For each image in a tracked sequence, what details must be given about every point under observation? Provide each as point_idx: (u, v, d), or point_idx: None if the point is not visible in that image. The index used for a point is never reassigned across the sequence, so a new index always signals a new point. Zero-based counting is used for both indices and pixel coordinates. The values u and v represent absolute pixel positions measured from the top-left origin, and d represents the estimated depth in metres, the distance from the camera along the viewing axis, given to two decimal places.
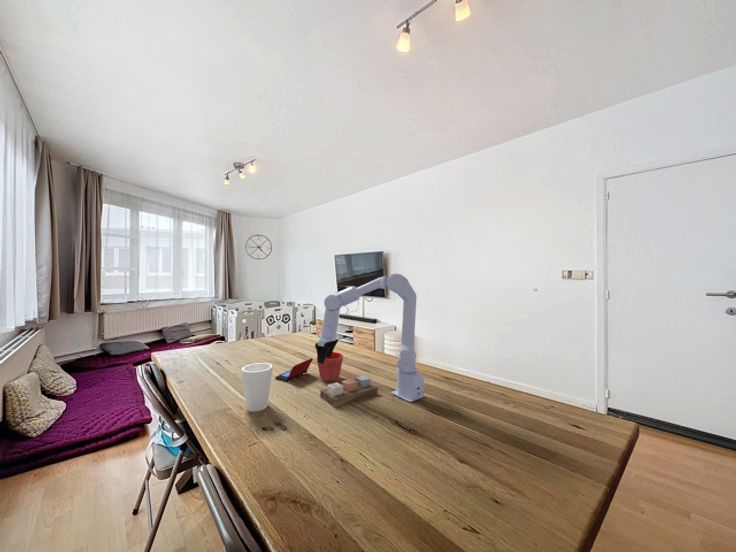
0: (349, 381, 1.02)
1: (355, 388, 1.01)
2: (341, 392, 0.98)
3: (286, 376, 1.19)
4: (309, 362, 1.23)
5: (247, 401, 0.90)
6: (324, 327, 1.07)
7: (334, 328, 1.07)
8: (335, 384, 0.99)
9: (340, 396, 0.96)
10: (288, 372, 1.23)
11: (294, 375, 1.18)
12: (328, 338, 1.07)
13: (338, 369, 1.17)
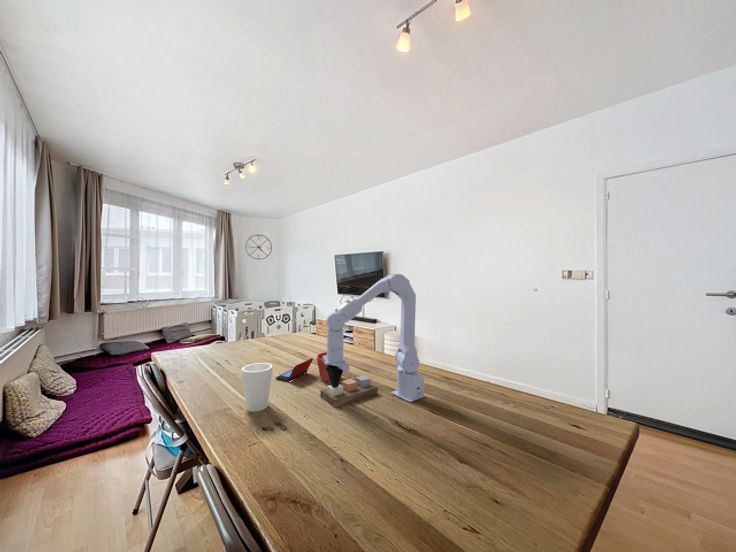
0: (349, 381, 1.02)
1: (355, 388, 1.01)
2: (341, 393, 0.98)
3: (287, 376, 1.18)
4: (309, 362, 1.23)
5: (247, 401, 0.90)
6: (336, 351, 0.96)
7: None
8: None
9: (340, 396, 0.96)
10: (288, 372, 1.23)
11: (295, 375, 1.18)
12: (342, 361, 0.97)
13: None
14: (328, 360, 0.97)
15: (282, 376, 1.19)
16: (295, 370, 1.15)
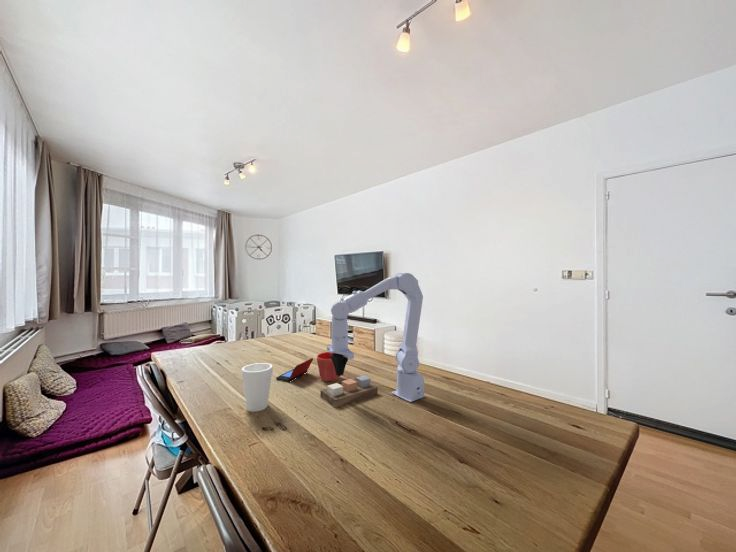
0: (349, 381, 1.02)
1: (355, 388, 1.01)
2: (341, 393, 0.98)
3: (287, 376, 1.18)
4: (310, 362, 1.23)
5: (247, 401, 0.90)
6: (340, 339, 0.97)
7: (347, 337, 1.00)
8: (335, 385, 0.99)
9: (340, 396, 0.96)
10: (288, 372, 1.23)
11: (295, 375, 1.18)
12: (346, 349, 0.98)
13: None
14: (333, 349, 0.98)
15: (282, 376, 1.19)
16: (296, 370, 1.15)
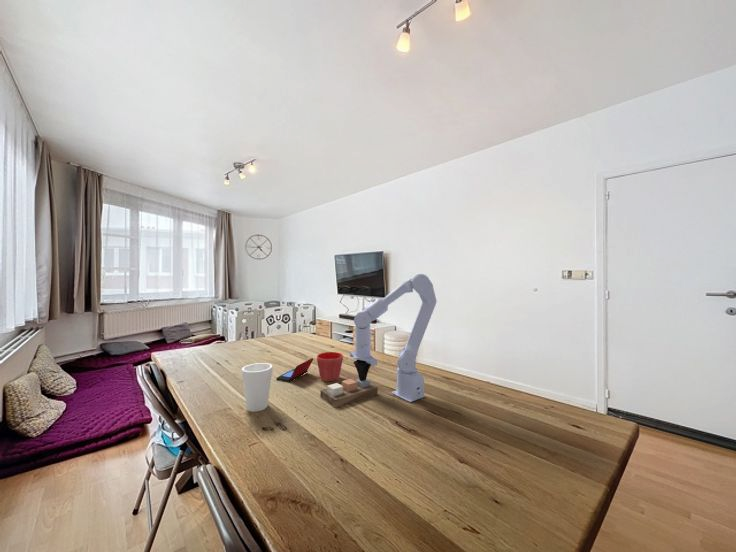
0: (349, 381, 1.02)
1: (355, 388, 1.01)
2: (341, 393, 0.98)
3: (287, 376, 1.18)
4: (310, 362, 1.23)
5: (247, 401, 0.90)
6: (364, 347, 1.03)
7: None
8: (335, 385, 0.99)
9: (340, 396, 0.96)
10: (288, 372, 1.23)
11: (296, 375, 1.17)
12: (369, 356, 1.04)
13: (338, 369, 1.17)
14: (357, 355, 1.04)
15: (283, 376, 1.19)
16: (296, 370, 1.15)
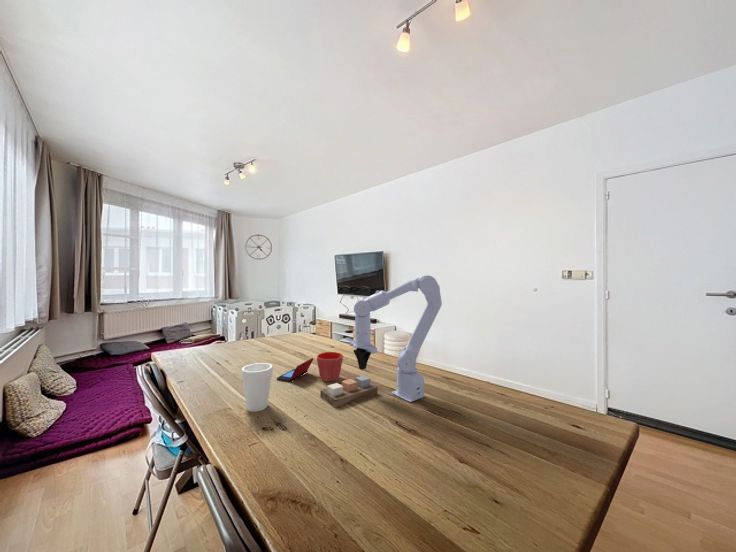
0: (349, 381, 1.02)
1: (355, 388, 1.01)
2: (341, 393, 0.98)
3: (288, 377, 1.18)
4: (310, 362, 1.23)
5: (247, 401, 0.90)
6: (364, 335, 1.03)
7: None
8: (335, 385, 0.99)
9: (340, 396, 0.96)
10: (289, 373, 1.23)
11: (296, 375, 1.17)
12: (369, 344, 1.04)
13: (338, 369, 1.17)
14: (357, 344, 1.04)
15: (283, 376, 1.18)
16: (297, 370, 1.15)
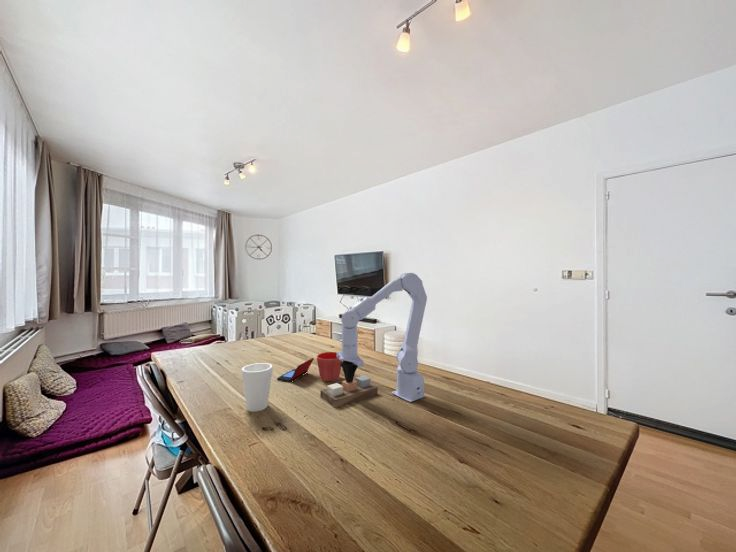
0: None
1: (355, 388, 1.01)
2: (341, 393, 0.98)
3: (288, 377, 1.18)
4: (310, 362, 1.23)
5: (247, 401, 0.90)
6: (350, 347, 0.99)
7: (357, 345, 1.03)
8: (335, 385, 0.99)
9: (340, 396, 0.96)
10: (289, 373, 1.23)
11: (297, 375, 1.17)
12: (356, 357, 1.01)
13: (338, 369, 1.17)
14: (343, 356, 1.00)
15: (283, 376, 1.18)
16: (297, 370, 1.15)
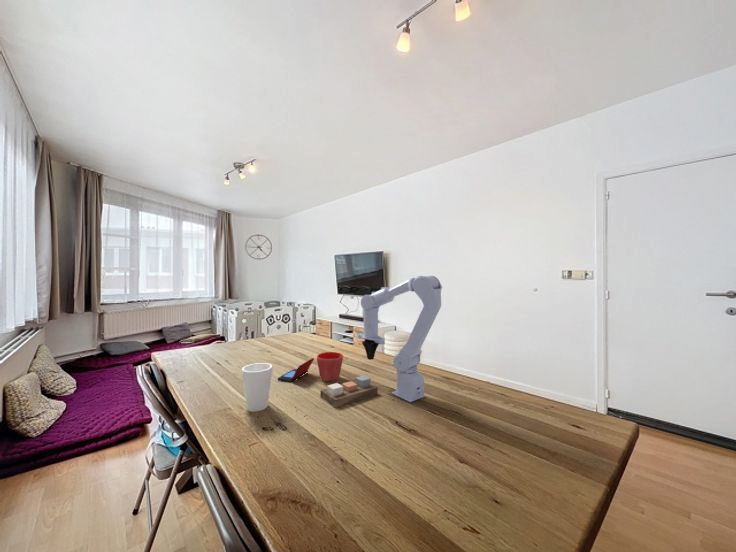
0: (349, 384, 1.02)
1: None
2: (341, 393, 0.98)
3: (289, 377, 1.18)
4: (311, 362, 1.23)
5: (247, 401, 0.90)
6: (372, 327, 1.10)
7: (377, 325, 1.13)
8: (335, 385, 0.99)
9: (340, 396, 0.96)
10: (289, 373, 1.22)
11: (297, 375, 1.17)
12: (377, 336, 1.12)
13: (338, 369, 1.17)
14: (365, 335, 1.11)
15: (284, 377, 1.18)
16: (298, 370, 1.15)
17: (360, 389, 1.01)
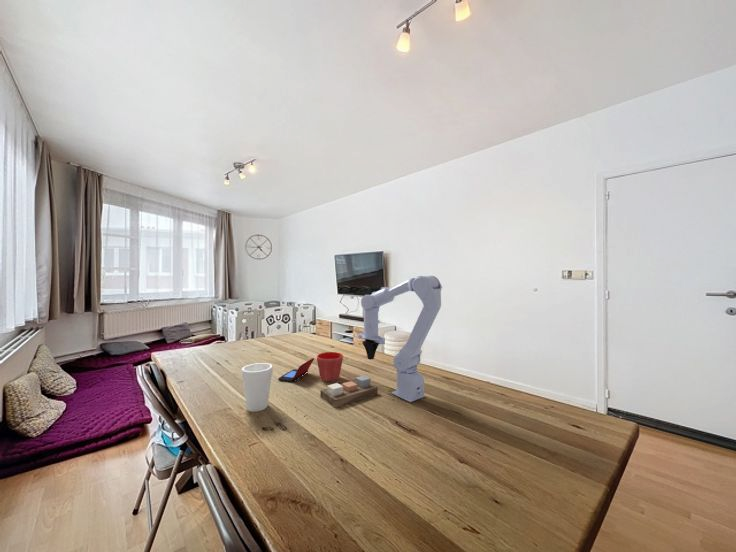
0: (349, 384, 1.02)
1: None
2: (341, 393, 0.98)
3: (289, 377, 1.18)
4: (311, 362, 1.23)
5: (247, 401, 0.90)
6: (372, 327, 1.11)
7: None
8: (335, 385, 0.99)
9: (340, 396, 0.96)
10: (289, 373, 1.22)
11: (298, 375, 1.17)
12: (377, 336, 1.12)
13: (338, 369, 1.17)
14: (365, 335, 1.11)
15: (284, 377, 1.18)
16: (299, 370, 1.15)
17: (360, 389, 1.01)
